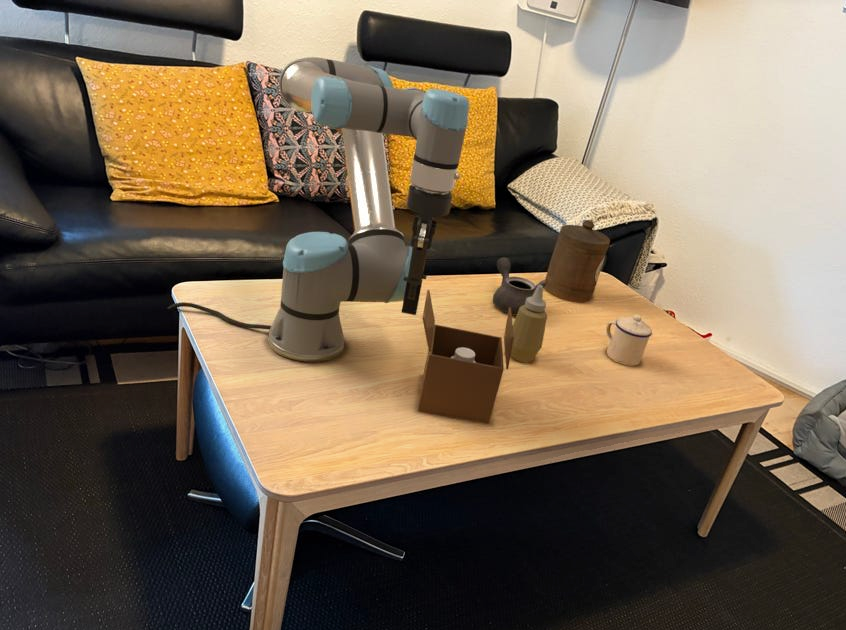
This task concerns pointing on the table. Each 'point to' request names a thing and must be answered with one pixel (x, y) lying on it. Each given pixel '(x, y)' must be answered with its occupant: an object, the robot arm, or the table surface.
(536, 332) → the squeeze bottle
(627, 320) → the teacup with lid
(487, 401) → the carton
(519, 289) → the teapot
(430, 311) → the flap
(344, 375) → the table surface
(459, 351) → the supplement bottle
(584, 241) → the wooden container
